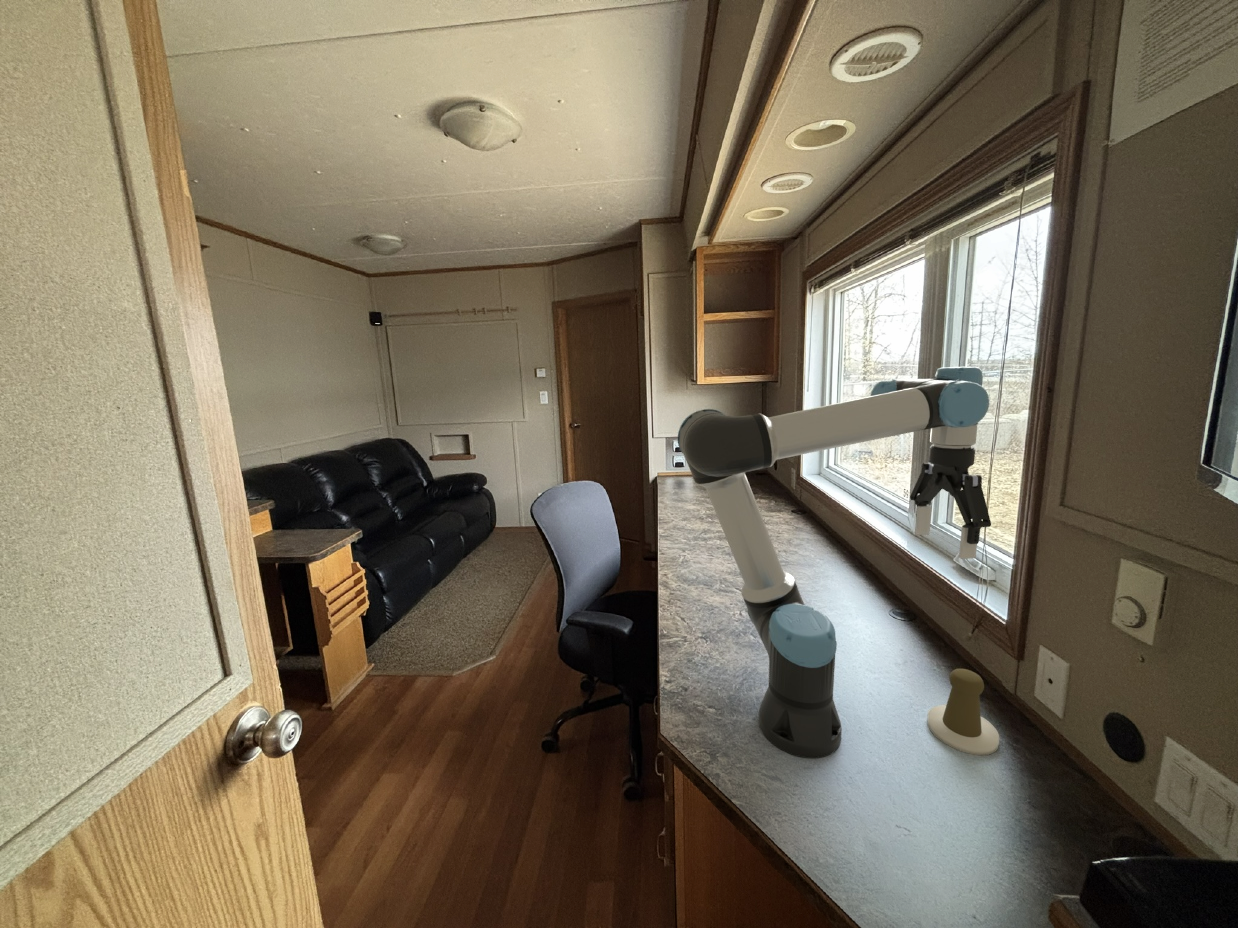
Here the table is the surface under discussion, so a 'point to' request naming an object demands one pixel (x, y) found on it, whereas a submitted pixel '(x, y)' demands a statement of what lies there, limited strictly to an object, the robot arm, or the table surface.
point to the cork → (964, 703)
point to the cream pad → (975, 745)
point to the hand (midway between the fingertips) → (943, 545)
